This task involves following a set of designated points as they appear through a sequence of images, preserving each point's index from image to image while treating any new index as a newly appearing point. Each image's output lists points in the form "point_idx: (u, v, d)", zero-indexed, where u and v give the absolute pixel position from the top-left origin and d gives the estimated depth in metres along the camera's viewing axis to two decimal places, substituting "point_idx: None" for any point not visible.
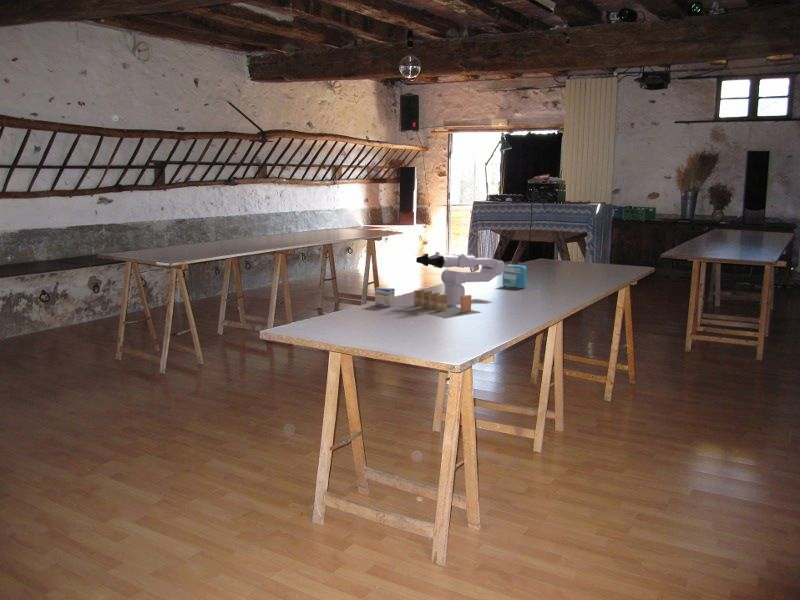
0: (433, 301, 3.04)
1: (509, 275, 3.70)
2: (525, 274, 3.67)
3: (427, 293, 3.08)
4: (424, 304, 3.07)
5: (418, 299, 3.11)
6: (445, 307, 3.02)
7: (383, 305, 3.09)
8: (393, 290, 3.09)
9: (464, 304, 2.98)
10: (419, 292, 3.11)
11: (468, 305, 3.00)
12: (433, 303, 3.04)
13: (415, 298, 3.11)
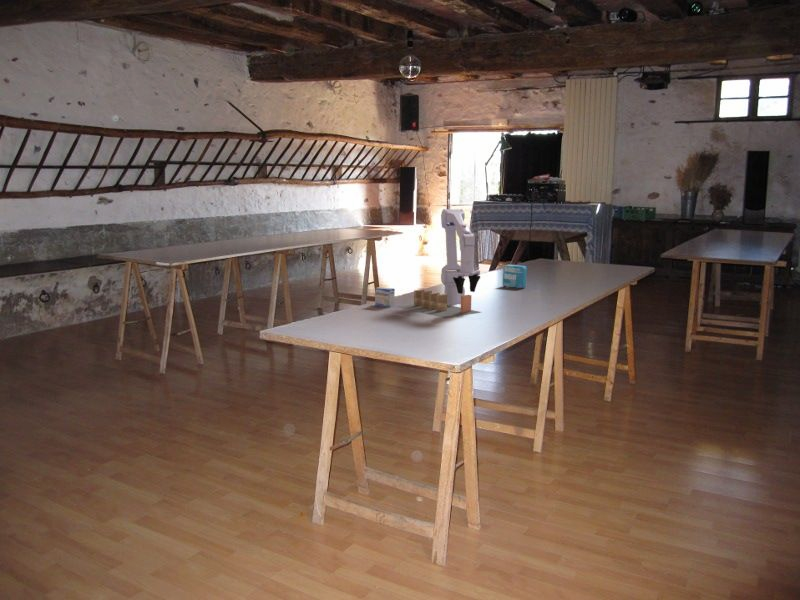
0: (433, 301, 3.04)
1: (509, 275, 3.70)
2: (525, 274, 3.67)
3: (427, 293, 3.08)
4: (424, 304, 3.07)
5: (418, 299, 3.11)
6: (445, 307, 3.02)
7: (383, 305, 3.09)
8: (393, 290, 3.09)
9: (464, 304, 2.98)
10: (419, 292, 3.11)
11: (468, 305, 3.00)
12: (433, 303, 3.04)
13: (415, 298, 3.11)
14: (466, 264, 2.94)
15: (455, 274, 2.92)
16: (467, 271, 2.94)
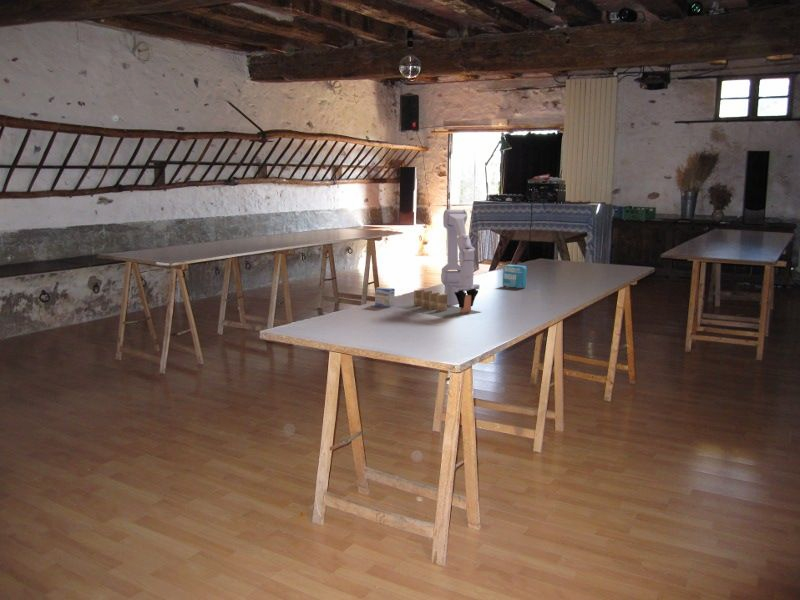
0: (433, 301, 3.04)
1: (509, 275, 3.70)
2: (525, 274, 3.67)
3: (427, 293, 3.08)
4: (424, 304, 3.07)
5: (418, 299, 3.11)
6: (445, 307, 3.02)
7: (383, 305, 3.09)
8: (393, 290, 3.09)
9: (464, 304, 2.98)
10: (419, 292, 3.11)
11: (468, 305, 3.00)
12: (433, 303, 3.04)
13: (415, 298, 3.11)
14: (466, 279, 2.95)
15: (455, 289, 2.94)
16: (467, 286, 2.95)
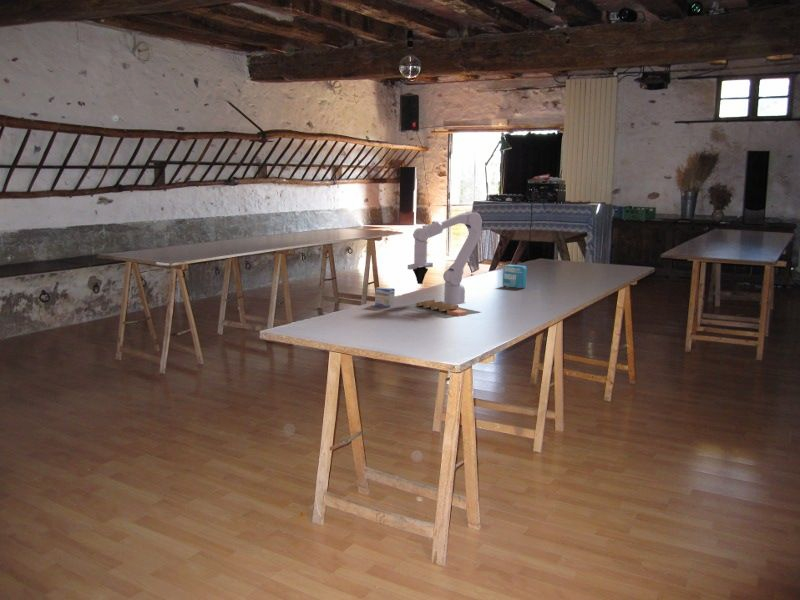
0: None
1: (509, 275, 3.70)
2: (525, 274, 3.67)
3: None
4: (427, 307, 3.06)
5: None
6: None
7: (383, 305, 3.09)
8: (393, 290, 3.09)
9: None
10: None
11: None
12: (437, 308, 3.02)
13: (421, 304, 3.08)
14: (419, 257, 3.11)
15: (409, 266, 3.09)
16: (420, 263, 3.11)
